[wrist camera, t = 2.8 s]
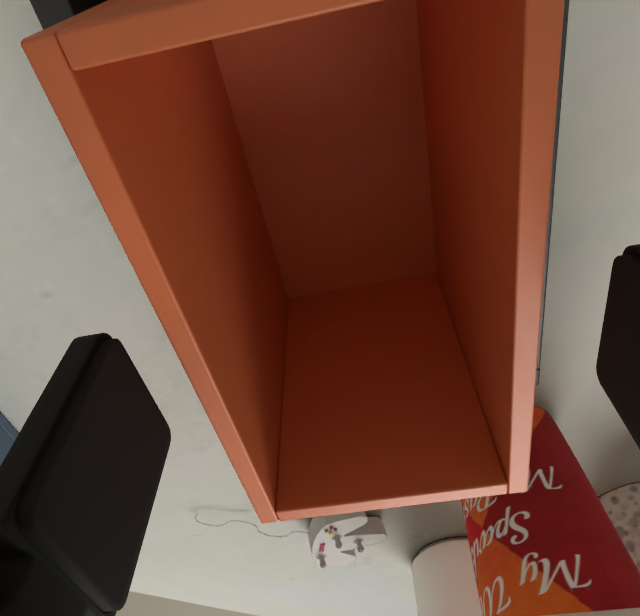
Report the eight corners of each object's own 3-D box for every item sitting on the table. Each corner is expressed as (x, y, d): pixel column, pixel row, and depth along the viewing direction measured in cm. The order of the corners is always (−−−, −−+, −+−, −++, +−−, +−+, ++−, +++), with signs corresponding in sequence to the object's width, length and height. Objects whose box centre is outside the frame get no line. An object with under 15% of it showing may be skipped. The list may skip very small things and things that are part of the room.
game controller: (389, 536, 35) (393, 576, 33) (224, 555, 36) (219, 594, 34) (376, 488, 31) (380, 529, 29) (195, 512, 33) (187, 553, 31)
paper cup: (482, 371, 25) (613, 731, 14) (607, 410, 27) (808, 756, 16) (406, 461, 30) (461, 791, 19) (517, 490, 32) (627, 805, 21)
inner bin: (176, -32, 15) (17, 40, 7) (424, -94, 14) (573, -94, 6) (279, 301, 22) (261, 524, 14) (447, 272, 21) (528, 491, 13)
